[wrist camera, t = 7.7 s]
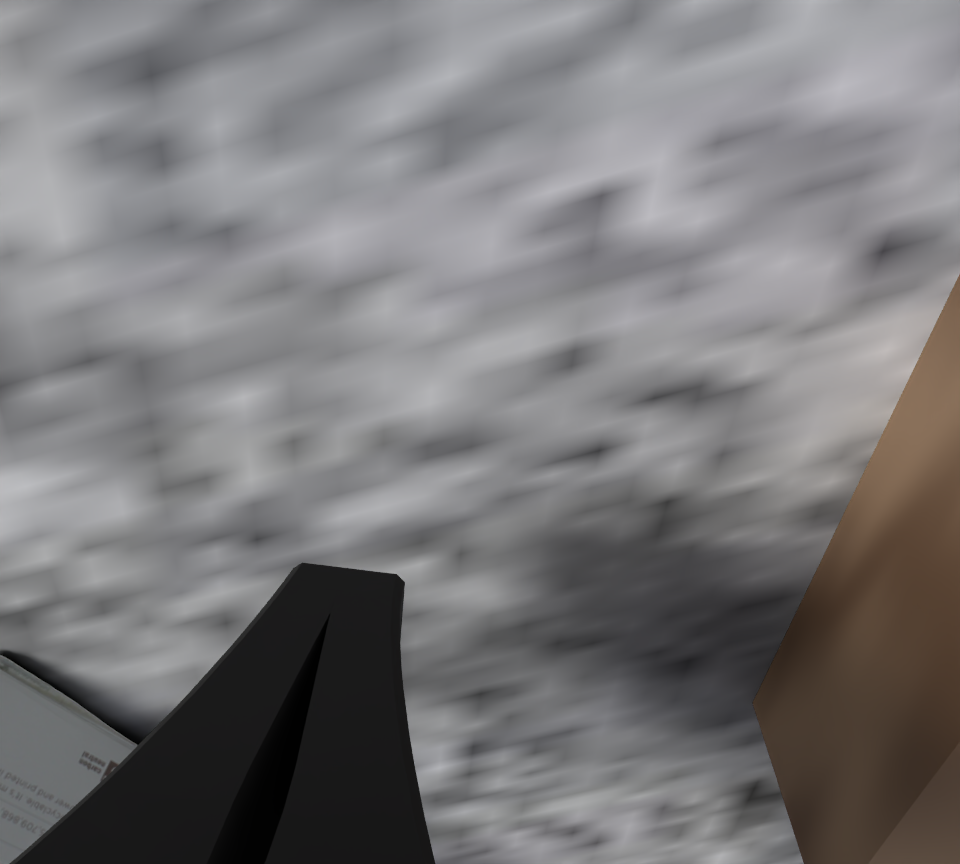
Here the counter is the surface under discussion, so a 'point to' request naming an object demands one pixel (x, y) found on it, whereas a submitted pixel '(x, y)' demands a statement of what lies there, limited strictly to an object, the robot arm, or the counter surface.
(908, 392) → the walnut block
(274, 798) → the robot arm
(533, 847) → the counter surface
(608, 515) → the counter surface
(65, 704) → the skincare box
